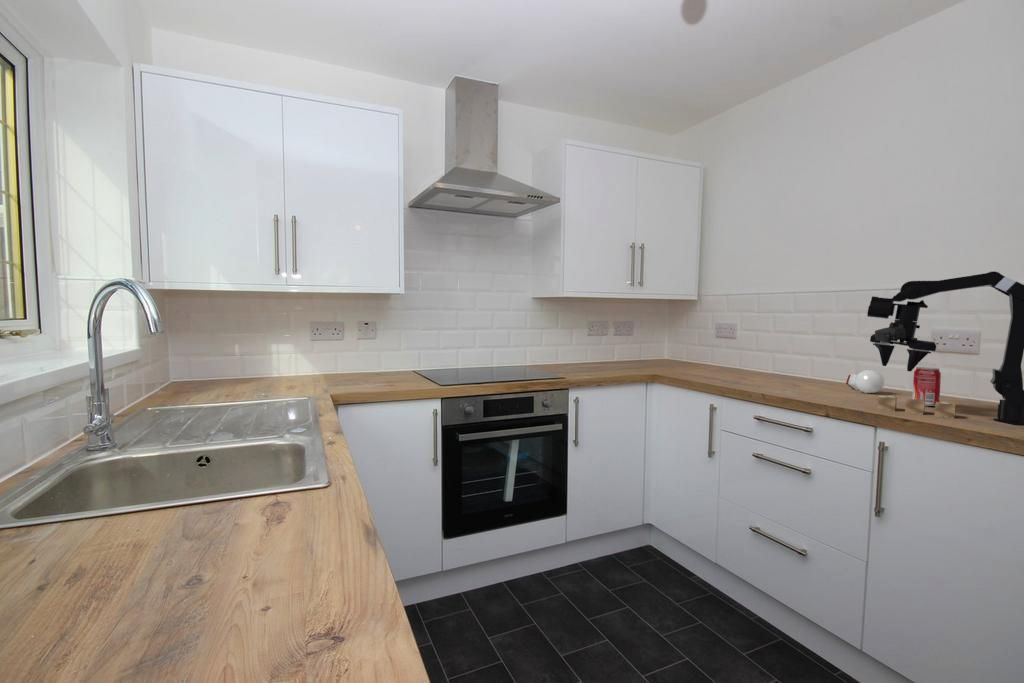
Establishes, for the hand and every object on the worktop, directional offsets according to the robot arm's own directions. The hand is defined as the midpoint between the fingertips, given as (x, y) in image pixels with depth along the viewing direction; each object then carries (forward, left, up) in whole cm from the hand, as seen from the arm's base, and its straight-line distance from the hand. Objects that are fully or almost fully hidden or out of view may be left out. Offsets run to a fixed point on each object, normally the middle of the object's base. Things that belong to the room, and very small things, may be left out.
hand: (896, 368), depth 161 cm
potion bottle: (+36, -18, -14) cm, 43 cm away
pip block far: (0, +3, -13) cm, 14 cm away
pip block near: (-10, -7, -13) cm, 19 cm away
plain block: (-5, -2, -13) cm, 15 cm away
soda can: (+7, -17, -14) cm, 23 cm away
